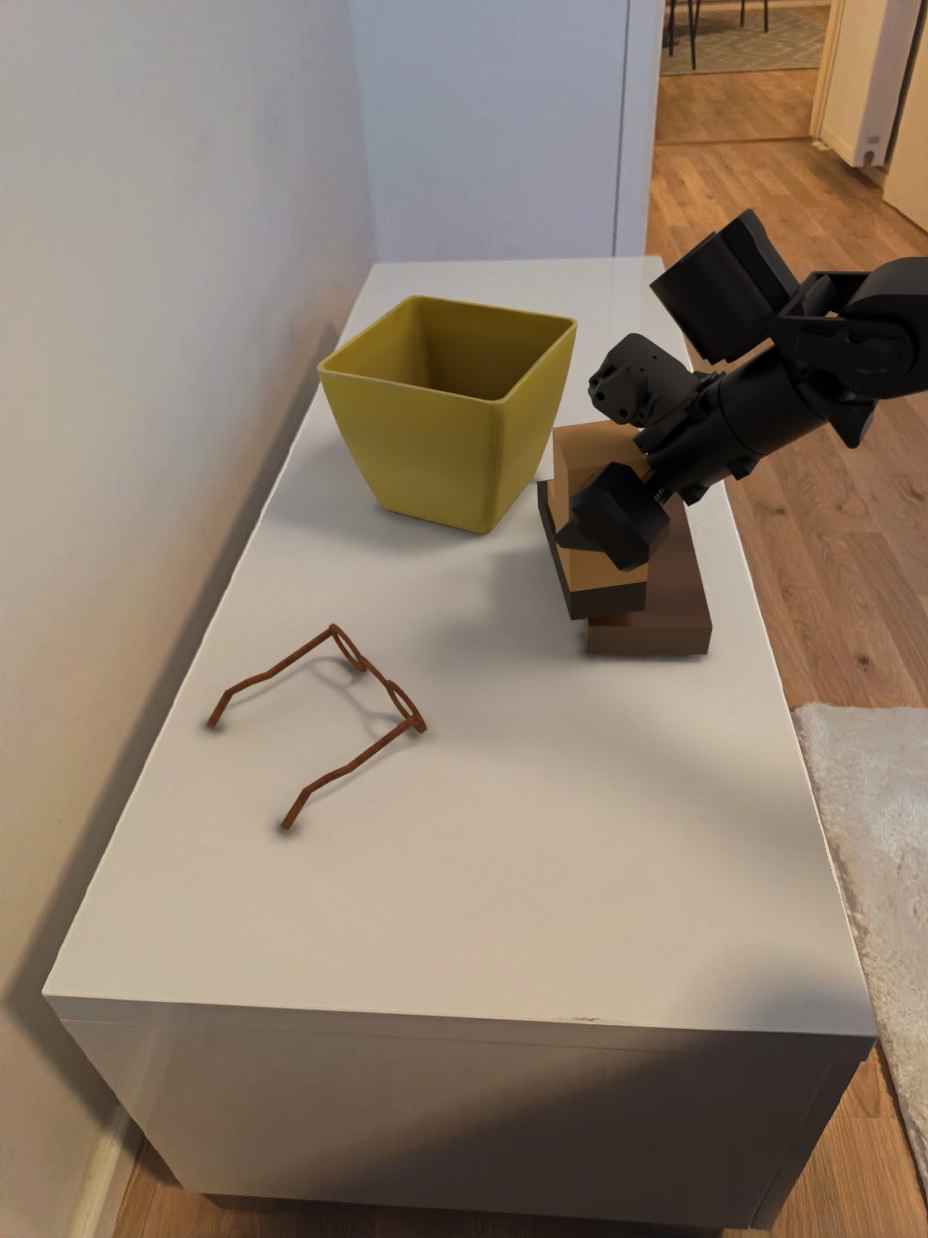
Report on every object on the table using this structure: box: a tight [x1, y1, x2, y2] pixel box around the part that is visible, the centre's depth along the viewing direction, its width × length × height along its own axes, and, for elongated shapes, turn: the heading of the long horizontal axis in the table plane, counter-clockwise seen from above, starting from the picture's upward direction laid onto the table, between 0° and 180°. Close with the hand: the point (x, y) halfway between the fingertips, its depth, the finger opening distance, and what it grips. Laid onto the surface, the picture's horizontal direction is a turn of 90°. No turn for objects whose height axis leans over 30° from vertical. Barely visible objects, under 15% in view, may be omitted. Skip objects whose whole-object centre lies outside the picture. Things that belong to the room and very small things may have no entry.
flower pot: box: [316, 294, 579, 534], centre depth 88 cm, size 19×19×17 cm
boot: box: [536, 419, 650, 622], centre depth 70 cm, size 16×6×14 cm, turn 6°
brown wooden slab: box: [583, 492, 714, 656], centre depth 80 cm, size 22×10×4 cm, turn 177°
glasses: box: [206, 622, 428, 831], centre depth 67 cm, size 13×13×5 cm
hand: (584, 511), depth 67 cm, fingers closed on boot, 8 cm apart
